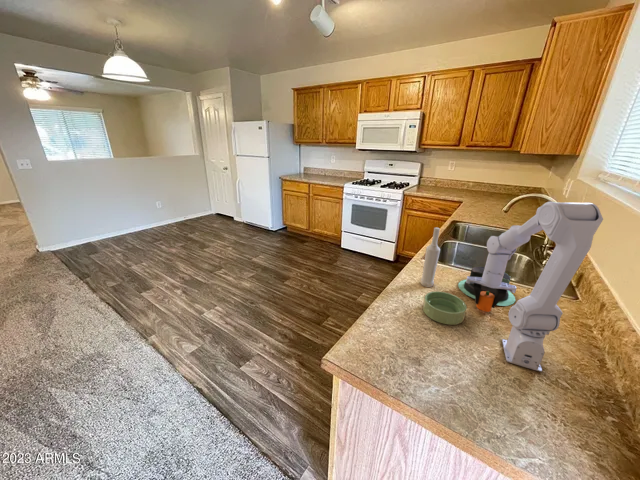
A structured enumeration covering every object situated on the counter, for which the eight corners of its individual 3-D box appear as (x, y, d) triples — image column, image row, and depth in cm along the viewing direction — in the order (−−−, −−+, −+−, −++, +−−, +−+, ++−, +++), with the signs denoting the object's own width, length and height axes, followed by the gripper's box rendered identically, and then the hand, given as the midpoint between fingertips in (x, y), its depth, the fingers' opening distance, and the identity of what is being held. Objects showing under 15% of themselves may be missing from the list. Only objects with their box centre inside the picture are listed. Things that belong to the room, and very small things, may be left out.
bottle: (420, 286, 110) (430, 229, 101) (420, 280, 115) (429, 225, 106) (433, 288, 109) (445, 231, 100) (432, 282, 113) (443, 227, 104)
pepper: (491, 313, 92) (496, 296, 90) (476, 309, 94) (481, 293, 91) (490, 306, 96) (494, 290, 93) (475, 302, 98) (480, 287, 95)
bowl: (463, 330, 85) (467, 318, 83) (420, 318, 90) (422, 306, 88) (463, 308, 96) (466, 297, 94) (424, 299, 101) (426, 288, 99)
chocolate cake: (507, 281, 113) (528, 309, 95) (461, 293, 120) (472, 321, 103) (496, 251, 110) (516, 275, 92) (450, 265, 117) (459, 290, 99)
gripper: (517, 270, 90) (506, 304, 95) (469, 261, 96) (461, 293, 101) (521, 279, 84) (510, 314, 89) (470, 269, 90) (462, 303, 95)
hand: (484, 304), depth 94 cm, fingers closed on pepper, 4 cm apart
